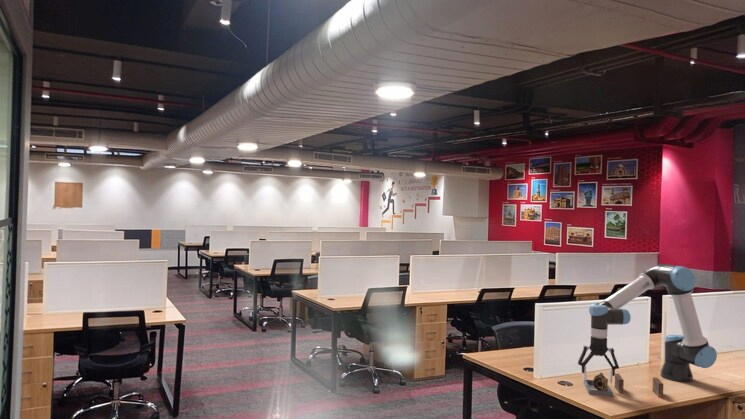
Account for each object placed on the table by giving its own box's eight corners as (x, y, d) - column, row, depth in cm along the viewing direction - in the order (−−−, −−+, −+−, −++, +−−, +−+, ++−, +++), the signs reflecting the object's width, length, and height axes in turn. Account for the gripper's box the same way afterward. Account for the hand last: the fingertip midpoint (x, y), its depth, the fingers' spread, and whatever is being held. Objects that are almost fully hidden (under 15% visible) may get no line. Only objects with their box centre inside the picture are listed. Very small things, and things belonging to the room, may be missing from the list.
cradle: (657, 391, 254) (657, 377, 254) (663, 398, 245) (663, 384, 245) (614, 387, 259) (614, 373, 259) (618, 393, 249) (619, 379, 249)
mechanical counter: (591, 396, 249) (595, 380, 245) (587, 378, 260) (590, 362, 256) (607, 398, 247) (611, 382, 243) (602, 380, 259) (605, 364, 255)
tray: (605, 386, 261) (605, 381, 261) (612, 397, 244) (612, 392, 244) (583, 383, 263) (583, 379, 263) (588, 394, 247) (588, 389, 247)
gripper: (623, 337, 255) (622, 381, 254) (572, 332, 260) (571, 376, 260) (626, 340, 247) (625, 386, 247) (574, 336, 253) (573, 380, 253)
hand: (597, 380), depth 254 cm, fingers open, 11 cm apart
